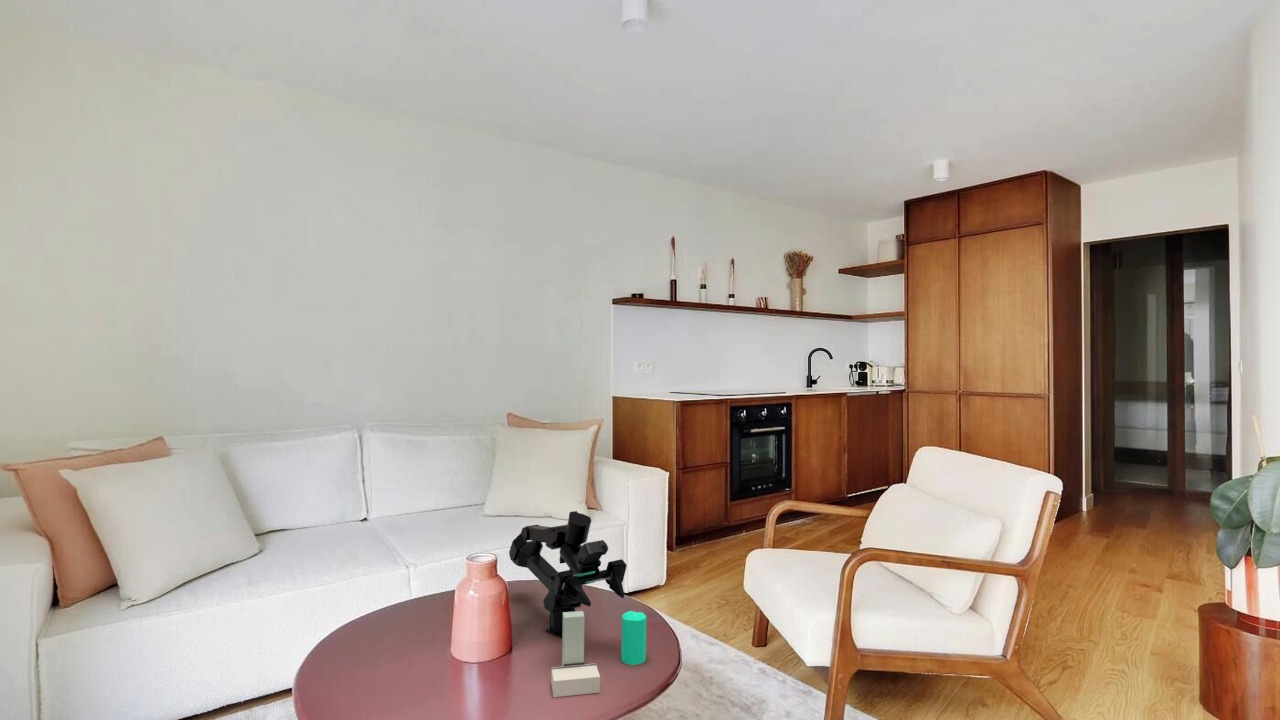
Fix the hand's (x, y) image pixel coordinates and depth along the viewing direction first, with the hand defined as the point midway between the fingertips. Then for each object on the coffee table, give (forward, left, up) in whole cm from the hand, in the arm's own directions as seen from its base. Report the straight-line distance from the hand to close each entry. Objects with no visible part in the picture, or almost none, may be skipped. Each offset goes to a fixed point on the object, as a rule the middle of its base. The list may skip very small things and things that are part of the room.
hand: (607, 600), depth 152 cm
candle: (+3, +7, -16) cm, 18 cm away
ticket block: (+1, -12, -16) cm, 19 cm away
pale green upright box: (-3, -8, -16) cm, 18 cm away
